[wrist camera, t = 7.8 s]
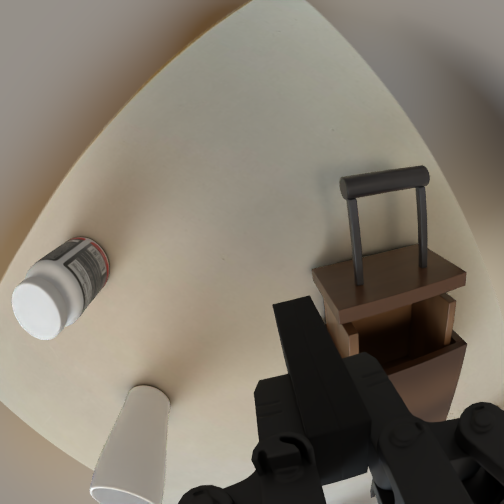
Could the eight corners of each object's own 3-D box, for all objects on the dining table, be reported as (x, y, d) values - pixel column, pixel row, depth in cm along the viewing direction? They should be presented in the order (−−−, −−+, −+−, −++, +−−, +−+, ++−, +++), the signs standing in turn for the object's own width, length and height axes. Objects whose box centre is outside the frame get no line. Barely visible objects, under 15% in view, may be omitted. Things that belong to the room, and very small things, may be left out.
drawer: (296, 176, 25) (323, 187, 18) (413, 158, 25) (467, 166, 18) (324, 378, 32) (343, 429, 25) (413, 350, 32) (445, 391, 25)
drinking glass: (118, 374, 32) (78, 479, 17) (175, 381, 32) (155, 495, 18) (127, 413, 34) (99, 509, 19) (179, 419, 34) (165, 522, 20)
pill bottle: (58, 279, 27) (6, 327, 18) (65, 227, 26) (5, 263, 17) (106, 298, 28) (65, 356, 19) (116, 246, 27) (69, 293, 18)
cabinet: (311, 327, 31) (338, 391, 22) (418, 297, 31) (467, 343, 22) (321, 416, 36) (339, 474, 26) (408, 389, 35) (439, 437, 26)
